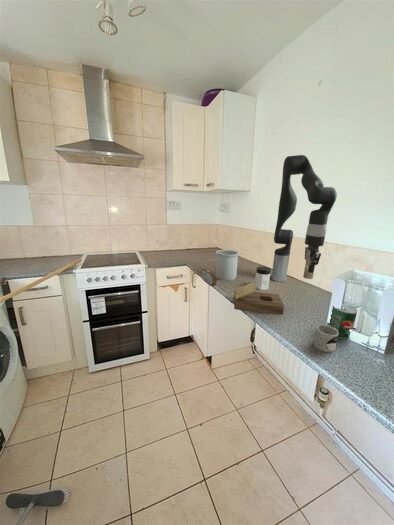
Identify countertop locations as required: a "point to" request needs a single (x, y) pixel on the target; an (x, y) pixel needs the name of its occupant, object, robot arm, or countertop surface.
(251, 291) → the latch flap
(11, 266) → the countertop surface
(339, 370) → the countertop surface
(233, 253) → the utensil holder
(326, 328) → the mug
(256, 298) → the block
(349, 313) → the canned tomato
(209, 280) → the brown oval frame
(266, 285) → the jar
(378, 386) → the countertop surface
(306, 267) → the peg
